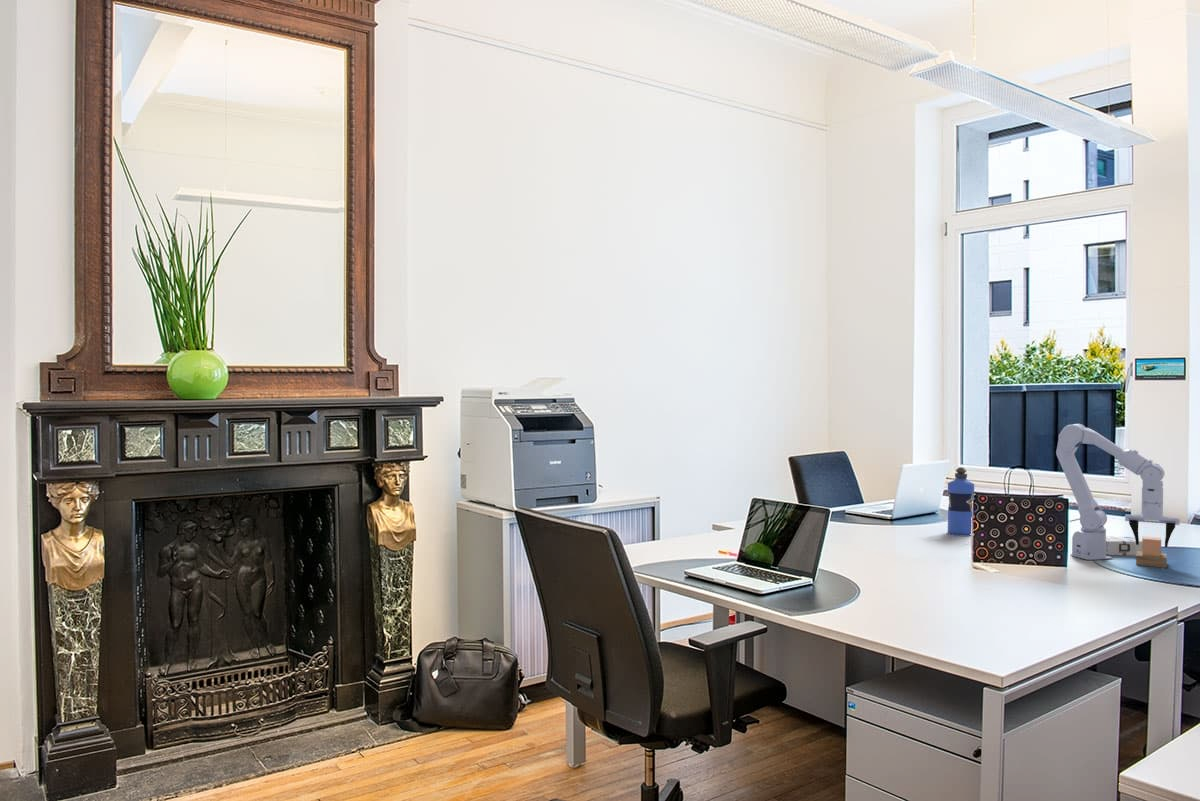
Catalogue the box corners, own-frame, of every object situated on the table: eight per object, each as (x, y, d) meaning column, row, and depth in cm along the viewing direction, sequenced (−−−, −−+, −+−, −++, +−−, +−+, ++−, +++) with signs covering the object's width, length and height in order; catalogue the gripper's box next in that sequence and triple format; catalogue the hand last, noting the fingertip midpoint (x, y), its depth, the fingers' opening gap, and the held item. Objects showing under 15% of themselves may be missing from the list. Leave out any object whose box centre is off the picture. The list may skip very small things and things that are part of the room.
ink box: (1129, 550, 300) (1086, 550, 300) (1130, 536, 300) (1086, 536, 300) (1144, 556, 291) (1099, 555, 292) (1145, 541, 291) (1100, 541, 292)
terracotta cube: (1161, 556, 275) (1161, 540, 275) (1142, 554, 277) (1142, 538, 277) (1160, 553, 279) (1161, 537, 279) (1142, 552, 282) (1142, 536, 281)
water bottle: (975, 532, 335) (976, 467, 334) (971, 536, 327) (972, 469, 327) (949, 530, 340) (950, 466, 339) (945, 534, 332) (945, 468, 331)
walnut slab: (1166, 567, 273) (1166, 557, 273) (1136, 564, 277) (1136, 554, 277) (1166, 563, 280) (1166, 553, 280) (1136, 560, 284) (1137, 550, 284)
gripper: (1125, 502, 278) (1124, 545, 279) (1179, 505, 271) (1179, 549, 271) (1125, 499, 284) (1125, 541, 285) (1179, 503, 277) (1178, 546, 277)
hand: (1151, 545), depth 278 cm, fingers open, 7 cm apart
